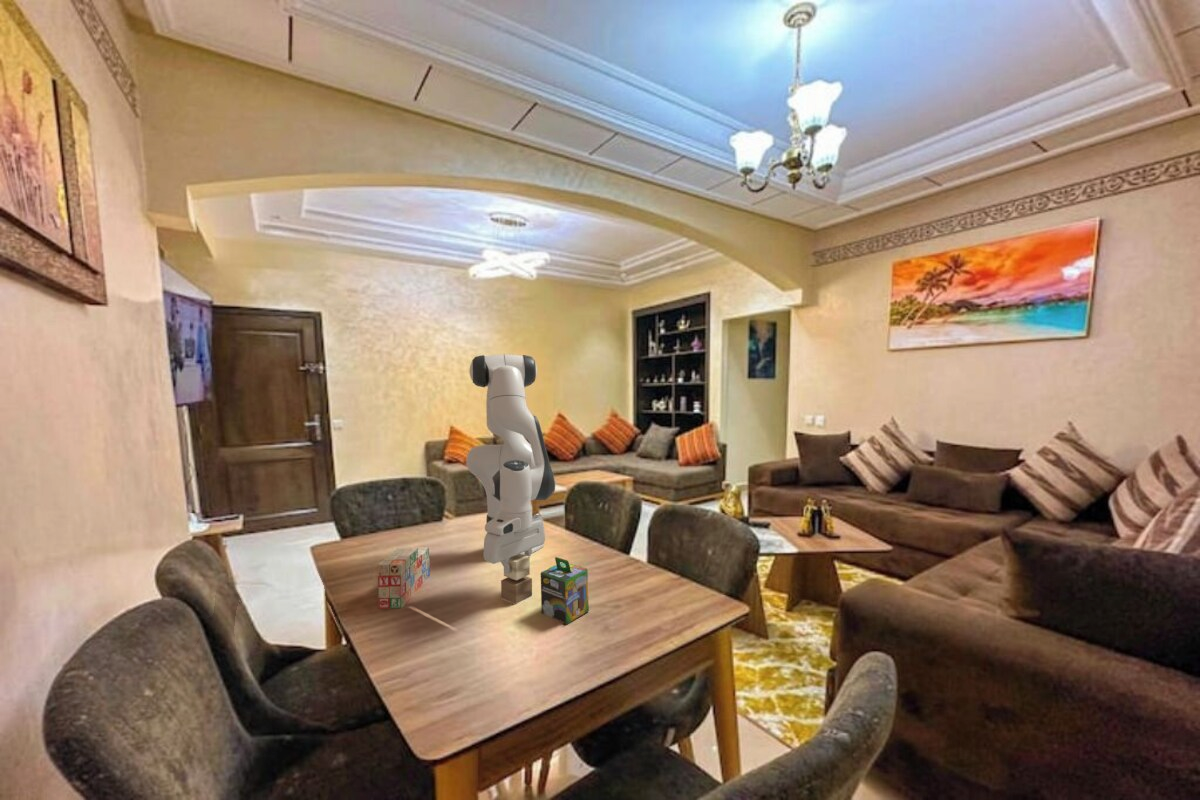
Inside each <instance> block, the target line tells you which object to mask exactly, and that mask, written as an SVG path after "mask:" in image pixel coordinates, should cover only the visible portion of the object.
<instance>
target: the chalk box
mask: <svg viewBox="0 0 1200 800" xmlns="http://www.w3.org/2000/svg"><path fill="white" fill-rule="evenodd" d="M554 559H555V563H556V564H555V565H553V566H550V567H549V568H548V569H545V570H542V571H541V572H540V600H541V602H540V604H541V606H540V607H541V613H542V614H544V615H546V616H548V617H550V618H553V619H555V620H558V621H559V622H562V623H563V625H564V626H568V624H569V623H570V624H571V623H572V622H573V621H575V620H576V619H578V618H580V617H581V616H583V615H584V614H586V613H587V612H589V611H590V607H589V579H588V577H589V572H588V568H587V567H586V568H585V567H582V566H581V565H576V564H572V563H570V562H569V560H568V559H563V558H561V557H557V556H555V557H554Z"/></svg>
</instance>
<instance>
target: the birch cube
mask: <svg viewBox="0 0 1200 800" xmlns="http://www.w3.org/2000/svg"><path fill="white" fill-rule="evenodd" d="M530 557H531V556H530ZM530 557H529V556H526V555H522V554H518V555H515V556H513V557H510V558H509V562H508V564H509V566H512V572H511V573H508V574H506V573H504V572H503V576H504V577H506V578H507V577H508V578H511V579H514V580H518V579H521V578H523V577H525V576H527V577H528V576H529V575H530V573H531V572H530V561H531V559H530Z"/></svg>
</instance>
